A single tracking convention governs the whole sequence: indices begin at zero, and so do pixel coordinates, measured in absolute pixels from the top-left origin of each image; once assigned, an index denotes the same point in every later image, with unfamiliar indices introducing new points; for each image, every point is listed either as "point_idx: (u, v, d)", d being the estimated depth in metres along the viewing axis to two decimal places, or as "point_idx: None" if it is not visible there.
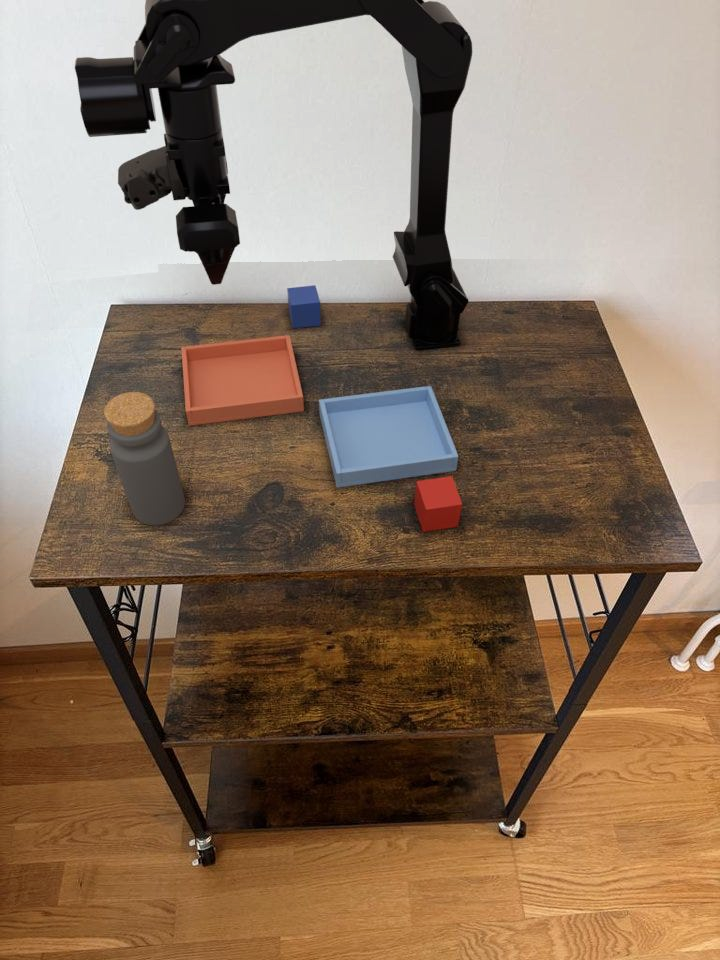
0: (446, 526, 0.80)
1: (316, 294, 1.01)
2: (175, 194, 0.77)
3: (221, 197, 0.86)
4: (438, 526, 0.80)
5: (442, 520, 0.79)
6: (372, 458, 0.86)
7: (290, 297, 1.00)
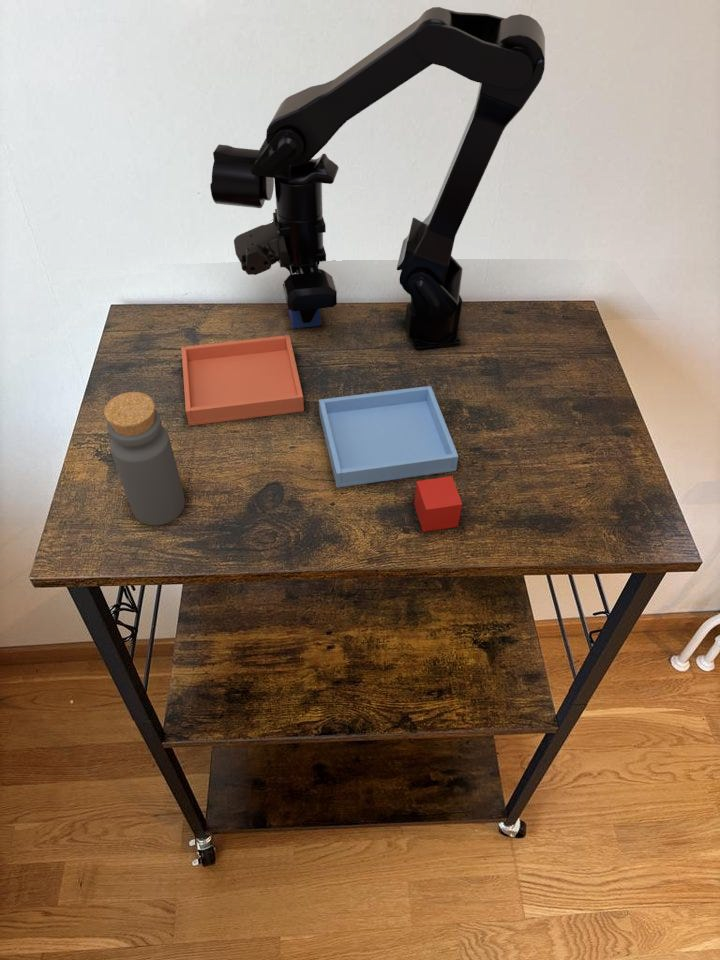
0: (446, 526, 0.80)
1: None
2: (282, 262, 0.93)
3: None
4: (438, 526, 0.80)
5: (442, 520, 0.79)
6: (372, 458, 0.86)
7: None
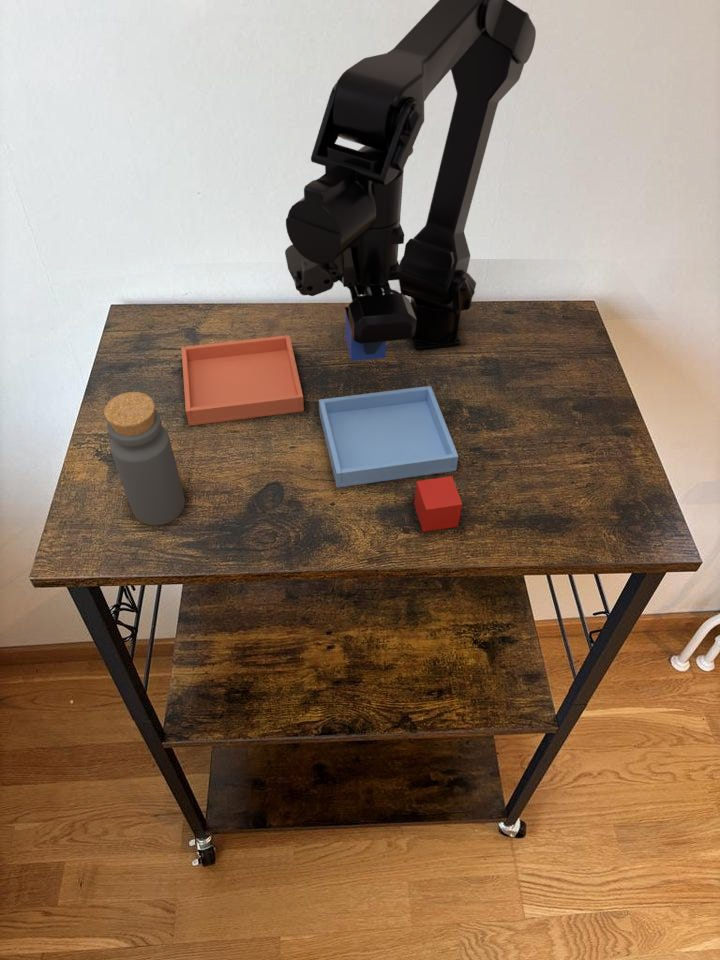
0: (446, 526, 0.80)
1: None
2: (346, 281, 0.73)
3: None
4: (438, 526, 0.80)
5: (442, 520, 0.79)
6: (372, 458, 0.86)
7: None
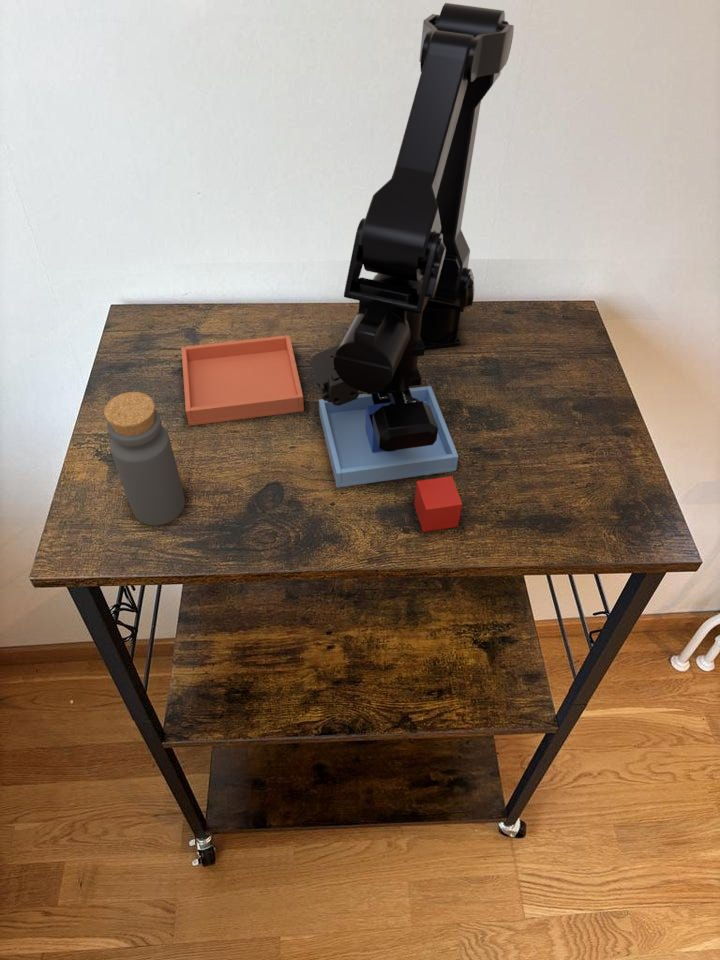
0: (446, 526, 0.80)
1: None
2: None
3: None
4: (438, 526, 0.80)
5: (442, 520, 0.79)
6: (372, 458, 0.86)
7: None
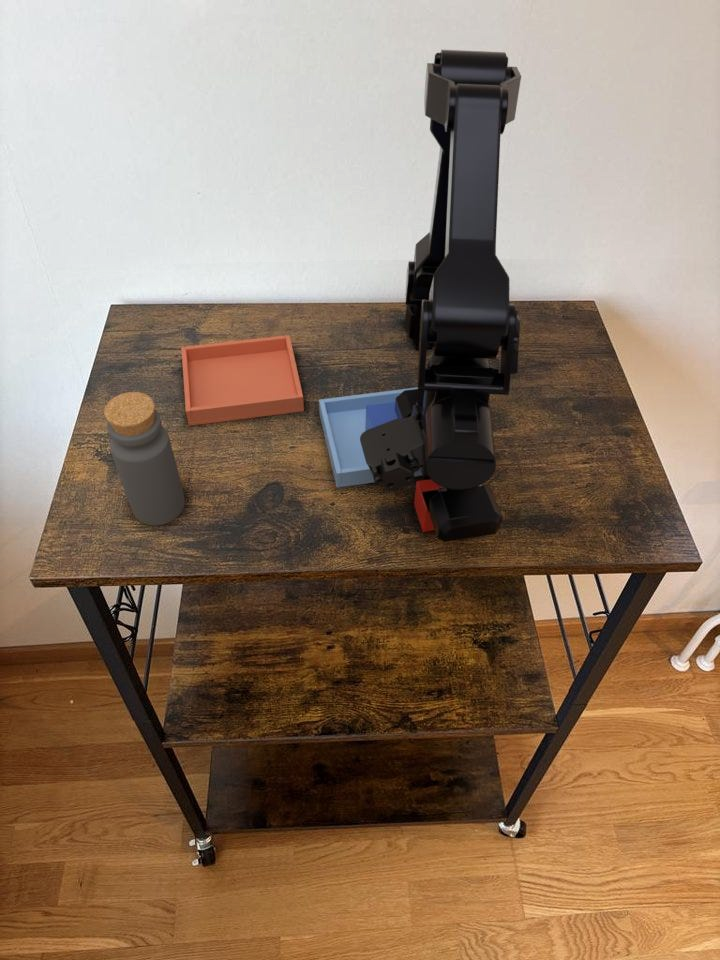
0: None
1: None
2: (426, 471, 0.71)
3: None
4: None
5: None
6: None
7: (371, 418, 0.85)
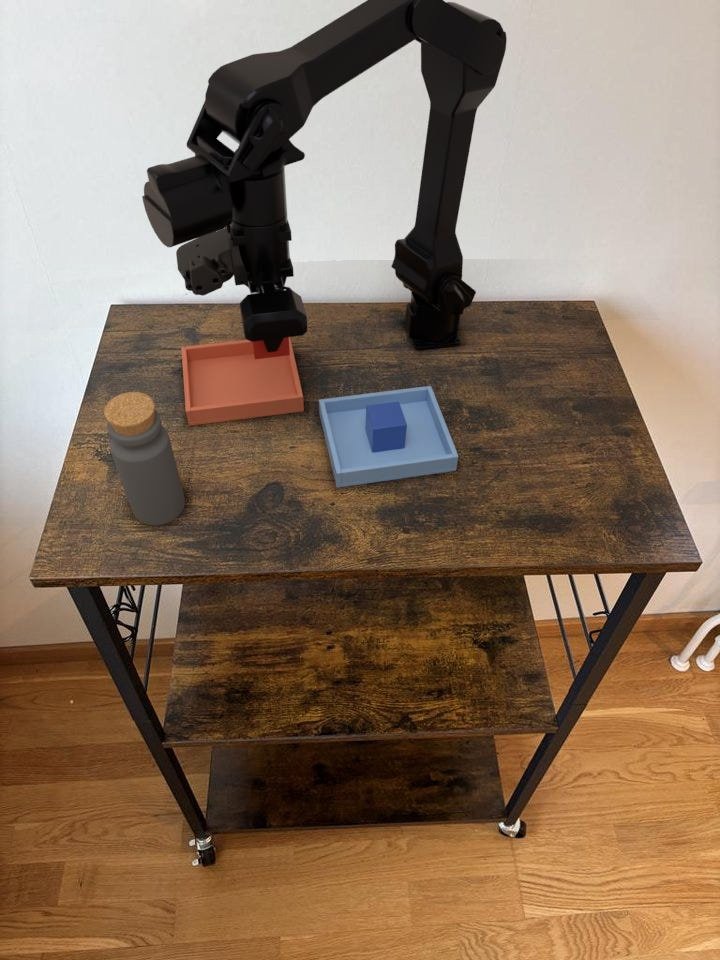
0: (278, 353, 0.83)
1: (401, 414, 0.85)
2: (237, 279, 0.73)
3: None
4: (269, 353, 0.82)
5: None
6: (372, 458, 0.86)
7: (371, 418, 0.85)
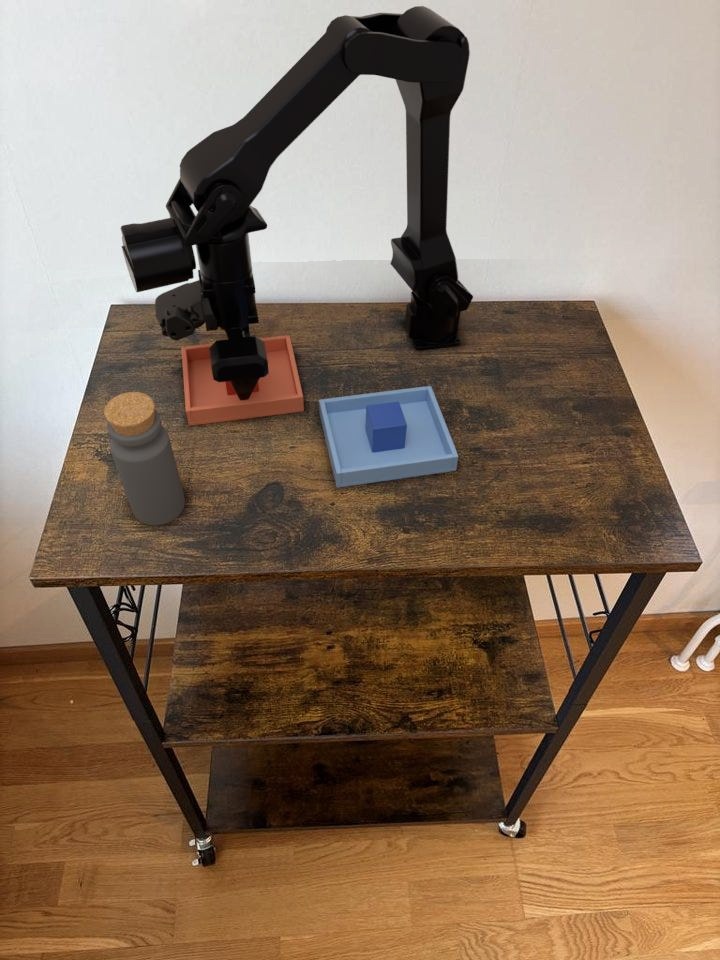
0: None
1: (401, 414, 0.85)
2: (208, 326, 0.83)
3: None
4: None
5: None
6: (372, 458, 0.86)
7: (371, 418, 0.85)
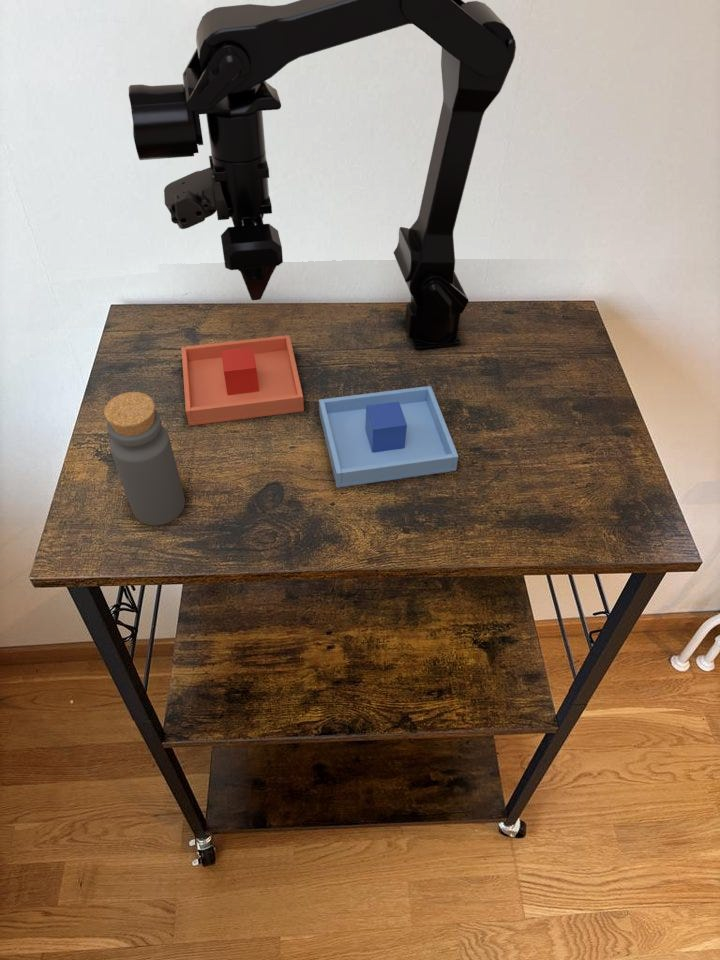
0: (248, 390, 0.92)
1: (401, 414, 0.85)
2: (220, 214, 0.80)
3: None
4: (240, 390, 0.92)
5: (242, 383, 0.91)
6: (372, 458, 0.86)
7: (371, 418, 0.85)
